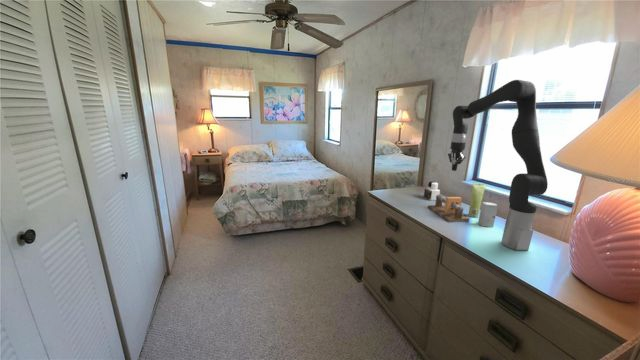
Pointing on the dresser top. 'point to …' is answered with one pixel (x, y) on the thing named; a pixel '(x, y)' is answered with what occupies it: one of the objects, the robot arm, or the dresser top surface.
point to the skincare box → (487, 214)
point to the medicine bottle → (431, 191)
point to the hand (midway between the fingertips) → (453, 170)
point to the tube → (476, 199)
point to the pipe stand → (450, 217)
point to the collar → (452, 200)
